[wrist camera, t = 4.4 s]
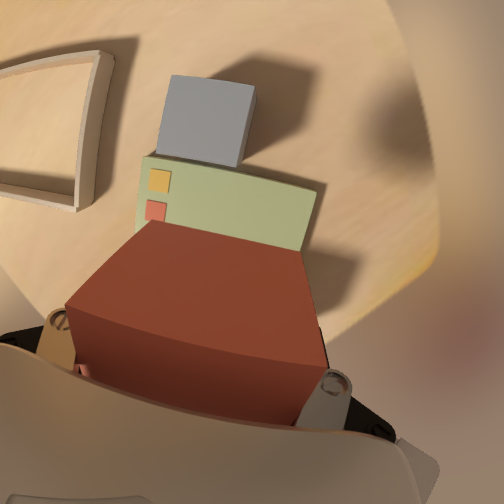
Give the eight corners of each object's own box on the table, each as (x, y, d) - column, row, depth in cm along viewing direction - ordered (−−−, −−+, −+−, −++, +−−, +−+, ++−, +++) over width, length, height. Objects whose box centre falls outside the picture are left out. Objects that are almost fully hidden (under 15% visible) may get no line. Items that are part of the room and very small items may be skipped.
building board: (147, 155, 24) (142, 156, 23) (314, 189, 25) (317, 192, 24) (136, 296, 31) (132, 302, 29) (272, 328, 31) (272, 335, 30)
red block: (151, 219, 11) (64, 304, 5) (300, 251, 11) (328, 366, 6) (147, 331, 13) (102, 427, 8) (263, 357, 13) (261, 465, 8)
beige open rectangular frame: (-30, 85, 19) (-43, 86, 16) (116, 55, 20) (102, 49, 17) (-38, 180, 25) (-50, 184, 22) (93, 205, 26) (78, 213, 24)
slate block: (192, 87, 22) (171, 74, 16) (257, 98, 22) (254, 85, 17) (179, 149, 24) (155, 153, 19) (242, 161, 24) (235, 167, 19)
